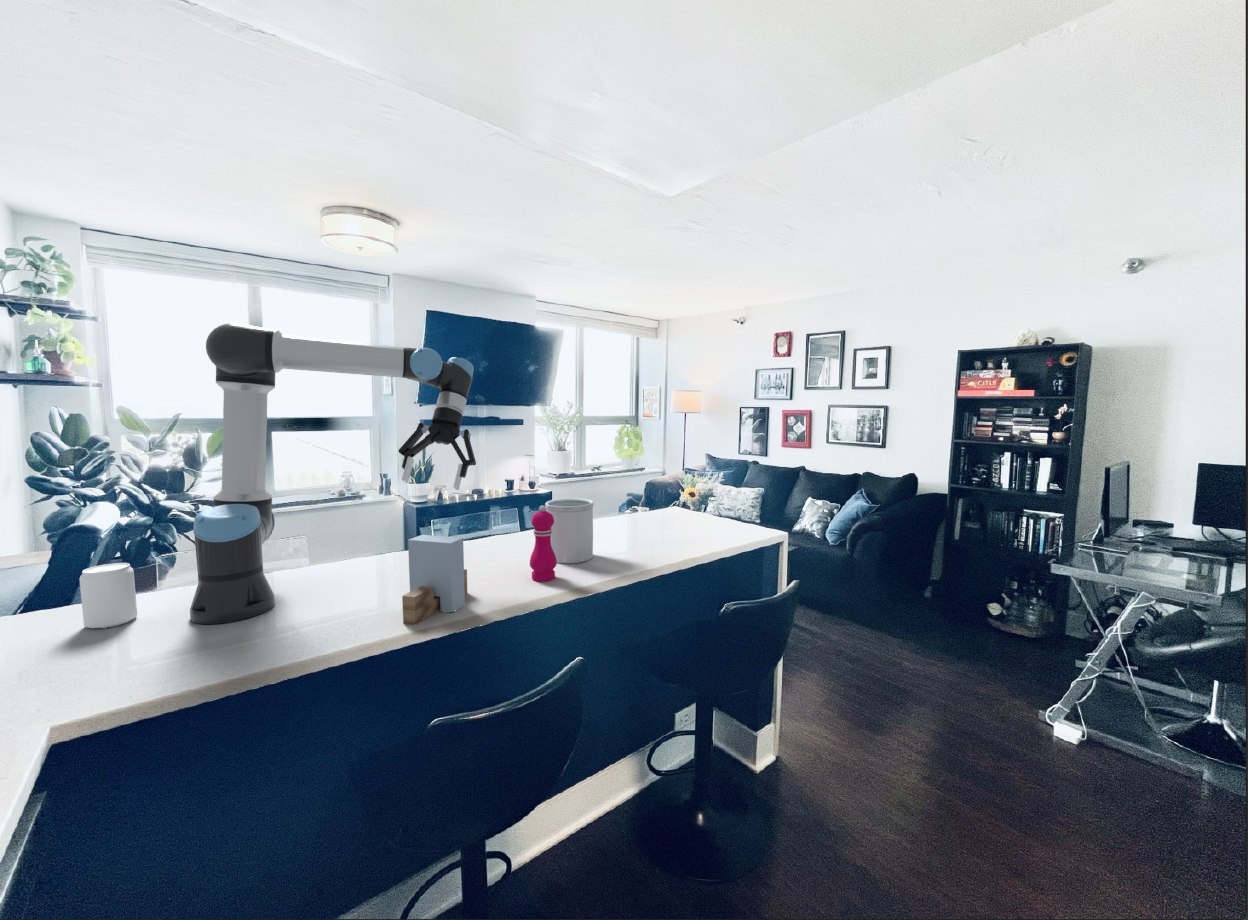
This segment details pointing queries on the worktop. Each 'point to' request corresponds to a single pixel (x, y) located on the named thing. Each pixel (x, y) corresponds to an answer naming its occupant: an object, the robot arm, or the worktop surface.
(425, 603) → the walnut slotted rail
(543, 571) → the pepper mill
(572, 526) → the utensil holder
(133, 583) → the beverage can
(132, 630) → the worktop surface
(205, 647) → the worktop surface
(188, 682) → the worktop surface
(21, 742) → the worktop surface
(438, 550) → the tall grey pillar
